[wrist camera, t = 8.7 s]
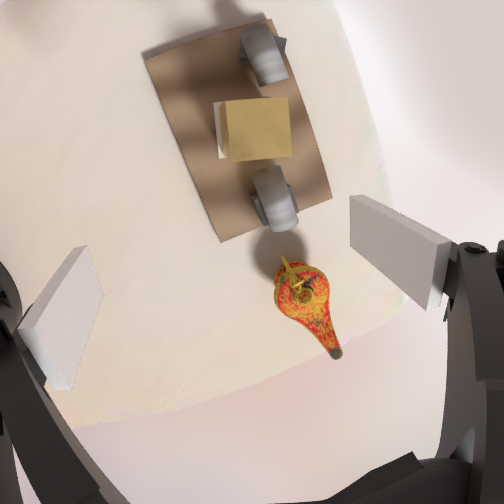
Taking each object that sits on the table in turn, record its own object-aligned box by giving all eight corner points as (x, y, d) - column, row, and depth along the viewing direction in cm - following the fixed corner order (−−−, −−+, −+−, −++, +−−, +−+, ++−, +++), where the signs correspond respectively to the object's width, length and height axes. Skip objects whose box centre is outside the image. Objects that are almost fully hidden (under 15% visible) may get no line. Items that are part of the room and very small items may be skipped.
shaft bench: (146, 62, 27) (136, 50, 22) (268, 21, 27) (282, 4, 22) (219, 239, 36) (224, 260, 31) (328, 195, 37) (351, 209, 31)
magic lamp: (302, 341, 45) (328, 394, 35) (242, 247, 37) (260, 295, 27) (342, 318, 45) (376, 366, 35) (291, 218, 37) (327, 255, 27)
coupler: (223, 153, 31) (231, 162, 24) (218, 107, 29) (225, 101, 22) (270, 148, 32) (292, 156, 25) (266, 102, 30) (287, 97, 23)
